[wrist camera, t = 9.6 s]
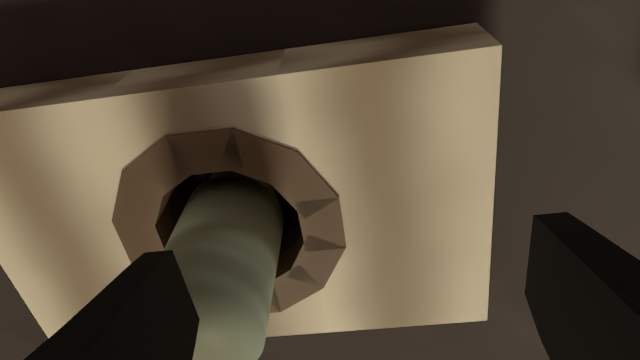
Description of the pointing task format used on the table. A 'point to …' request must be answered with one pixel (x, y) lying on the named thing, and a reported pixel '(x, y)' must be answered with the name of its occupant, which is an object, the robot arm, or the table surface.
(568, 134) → the table surface
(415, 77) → the socket board
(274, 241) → the green peg
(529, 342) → the table surface
